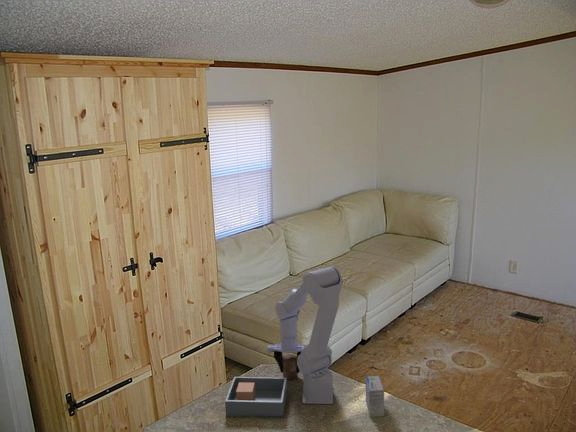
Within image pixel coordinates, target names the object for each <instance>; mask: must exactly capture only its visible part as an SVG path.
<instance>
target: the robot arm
mask: <svg viewBox="0 0 576 432" xmlns="http://www.w3.org/2000/svg"><path fill="white" fill-rule="evenodd" d="M343 282H344V281H343V277H342V275H341V272H340V270H339V269H338V267H337V266H335V265H329V266H328V267H324V268H320V269H317V270H312V271H306V272H305V273H304V275H303V276H302V281H301V283H300V285H299V286H298V287H297V288H292V289H290V290H289V293H288V295H286V296H285V297H284V299H283V300H282V301H277V302H276V304H275V309H274V310H275V313H276V316H277V317H278V320H279V337H280V343H276V344H268V346H267V353H268V354H271V353H273V359H275V361H276V363H277V365H278V368H279V372H280V373H282V374H283V364H282V357H283V353H284V354H293V353H296V356H297V373H298V374H299V373H301V374H302V375H303V391H302V398H301V399H302V400H301V403H302V404H312V405H314V404H316V405H317V404H319V405H333V404H334V394H335V388H334V380H333V379H334V378H333V377H334V374H333V370H332V369H329V367H330V366H332V361H333V357H332V354H333V350H332V348H331V346H330V345H329V342H330V337H331V334H332V331H333V327H334V324H335V321H336V317H337V313H338V310H339V305H340V294H341V290H342V286H343ZM308 295H309V297H310V298H311V300H312V302H313V304H316V305H318V307H317V312H316V315H315V319H314V323H313V326H312V332H311V335H310V339H309V343H308V344H301V343H298V323H297V322H298V320H299V315H300V313H301V308H302V307H303V306H304V305H305V303H306V302H307V297H308Z"/></svg>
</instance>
